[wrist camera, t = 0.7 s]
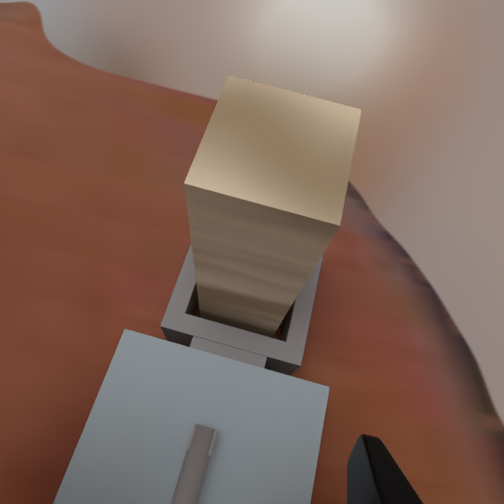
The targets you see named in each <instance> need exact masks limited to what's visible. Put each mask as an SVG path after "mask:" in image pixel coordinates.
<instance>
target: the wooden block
mask: <svg viewBox="0 0 504 504" xmlns="http://www.w3.org/2000/svg"><path fill="white" fill-rule="evenodd" d="M360 115H361V109H357V108H353V107H350V106H346V105H342V104H338V103H334V102H330V101H327V100H323V99H319V98H315V97H311V96H308V95H304V94H300V93H296V92H292V91H288V90H284V89H281V88H277V87H273V86H269V85H266V84H262V83H258V82H254V81H250V80H246V79H243V78H239V77H235V76H231V75H228V78H227V80H226V83H225V85H224V88H223V90H222V92H221V95H220V97H219V100H218V102H217V105H216V107H215V109H214V112H213V114H212V117H211V119H210V122H209V124H208V126H207V129H206V131H205V134H204V136H203V139H202V141H201V143H200V146H199V148H198V151H197V153H196V156H195V158H194V160H193V163H192V165H191V168H190V170H189V173H188V175H187V177H186V180H185V182H184V187H185V195H186V203H187V211H188V220H189V228H190V236H191V244H192V252H193V260H194V269H195V277H196V285H197V293H198V301H199V309H200V317H201V318H203V319H206V320H210V321H214V322H217V323H221V324H224V325H228V326H231V327H235V328H238V329H242V330H245V331H249V332H253V333H256V334H260V335H263V336H267V337H270V338H272V337H273V335H274V334H275V332H276V330H277V329H278V327H279V325H280V324H281V322H282V320H283V319H284V317H285V315H286V314H287V312H288V310H289V309H290V307H291V306H292V304H293V302H294V301H295V299H296V297H297V296H298V294H299V292H300V291H301V289H302V287H303V286H304V284H305V282H306V281H307V279H308V277H309V276H310V274H311V272H312V271H313V269H314V267H315V266H316V264H317V263H318V261H319V259H320V258H321V256H322V254H323V253H324V251H325V249H326V248H327V246H328V244H329V243H330V241H331V239H332V238H333V236H334V234H335V233H336V231H337V229H338V228H339V226H340V222H341V216H342V211H343V206H344V200H345V195H346V190H347V184H348V179H349V174H350V168H351V163H352V158H353V152H354V147H355V142H356V136H357V131H358V126H359V120H360Z"/></svg>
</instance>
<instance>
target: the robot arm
mask: <svg viewBox="0 0 504 504" xmlns="http://www.w3.org/2000/svg"><path fill="white" fill-rule="evenodd" d="M347 504H423V503H422V501H421V500H420V498H419V497H418V495H417V494H416V492H415V490H414V489H413V487H412V486H411V484H410V483H409V481H408V480H407V478H406V477H405V475H404V474H403V472H402V471H401V469H400V468H399V466H398V465H397V463H396V462H395V460H394V459H393V457H392V456H391V454H390V453H389V451H388V450H387V448H386V447H385V445H384V444H383V442H382V441H381V440H380V439H379V438H377V437H373V436H369V435H365V434H362V435H360V436H359V438H358V440H357V442H356V444H355V446H354V448H353V450H352V452H351V454H350V456H349V460H348V466H347Z"/></svg>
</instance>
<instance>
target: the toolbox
mask: <svg viewBox="0 0 504 504" xmlns="http://www.w3.org/2000/svg"><path fill="white" fill-rule="evenodd" d="M322 258H323V254H322V256H321V258H320V259H319V261H318V263H317V264H316V266H315V267H314V269H313V271H312V272H311V274H310V276H309V277H308V279H307V281H306V282H305V284H304V286H303V287H302V289H301V291H300V292H299V294H298V296H297V297H296V299H295V301H294V302H293V304H292V306H291V307H290V309H289V310H288V312H287V314H286V316H285V321H284V325H283V329H282V334H281V338H280V340H277V339H274V338H270V337H267V336H263V335H260V334H256V333H253V332H249V331H245V330H242V329H238V328H235V327H231V326H228V325H224V324H221V323H217V322H214V321H210V320H206V319H203V318H199V317H196V316H193V315H194V312H195V309H196V306H197V303H198V293H197V285H196V277H195V269H194V260H193V252H192V244H191V245H190V248H189V250H188V253H187V256H186V258H185V261H184V264H183V266H182V269H181V272H180V275H179V277H178V280H177V283H176V285H175V288H174V291H173V293H172V296H171V299H170V301H169V304H168V307H167V310H166V312H165V315H164V318H163V320H162V323H161V328H162V330H163V332H164V334H165V336H166V338H167V340H168V341H166V340H162V339H159V338H155V337H152V336H148V335H145V334H141V333H138V332H134V331H131V330H127V329H125V330H124V332H123V335H122V337H121V339H120V342H119V344H118V347H117V349H116V352H115V354H114V357H113V359H112V361H111V364H110V366H109V369H108V371H107V374H106V376H105V378H104V381H103V383H102V386H101V388H100V391H99V393H98V395H97V398H96V400H95V403H94V405H93V408H92V410H91V413H90V415H89V417H88V420H87V422H86V425H85V427H84V430H83V432H82V434H81V437H80V439H79V442H78V444H77V447H76V449H75V451H74V454H73V456H72V459H71V461H70V464H69V466H68V468H67V471H66V473H65V476H64V478H63V481H62V483H61V486H60V488H59V490H58V493H57V495H56V498H55V500H54V503H53V504H310V502H311V496H312V490H313V484H314V478H315V472H316V466H317V460H318V454H319V448H320V442H321V436H322V430H323V424H324V418H325V412H326V406H327V400H328V394H329V387H327V386H324V385H320V384H317V383H313V382H310V381H306V380H303V379H299V378H296V377H292V376H289V375H290V374H291V373H292V372H294V371H295V370H296V369H298V368H299V367H300V366H301V362H302V358H303V353H304V348H305V343H306V338H307V333H308V328H309V323H310V318H311V313H312V308H313V303H314V298H315V293H316V288H317V283H318V278H319V273H320V268H321V263H322ZM169 341H171V342H169ZM173 342H175V343H173ZM176 343H179V344H176ZM180 344H182V345H180ZM183 345H186V346H183ZM187 346H189V347H187ZM264 368H266V369H264ZM268 369H270V370H268ZM271 370H273V371H271ZM275 371H277V372H275ZM278 372H280V373H278ZM282 373H284V374H282ZM285 374H287V375H285Z"/></svg>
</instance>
